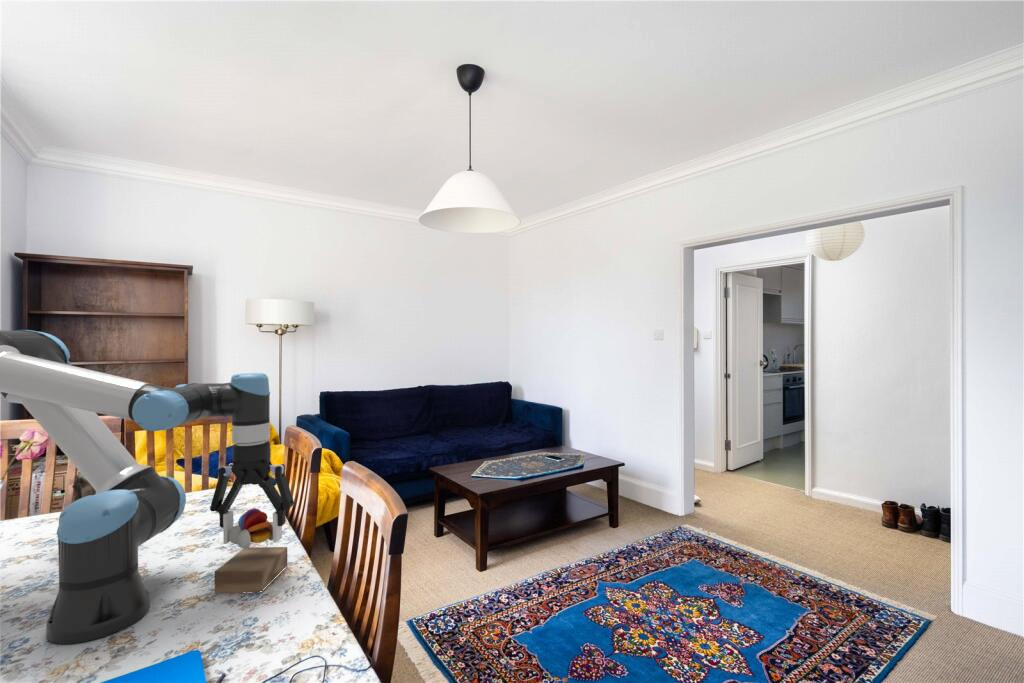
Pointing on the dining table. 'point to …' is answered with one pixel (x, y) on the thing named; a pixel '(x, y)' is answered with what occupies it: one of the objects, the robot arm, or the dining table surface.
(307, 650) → the dining table surface
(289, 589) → the dining table surface
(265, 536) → the rainbow cloud toy
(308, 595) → the dining table surface
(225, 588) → the walnut block
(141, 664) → the dining table surface
